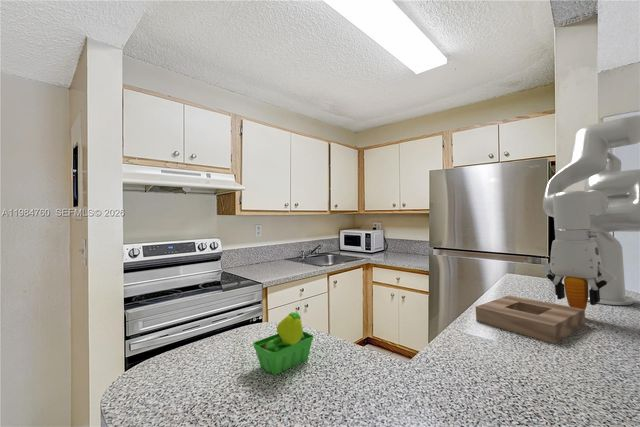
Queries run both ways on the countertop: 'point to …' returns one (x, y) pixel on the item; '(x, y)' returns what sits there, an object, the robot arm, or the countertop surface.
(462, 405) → the countertop surface
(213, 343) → the countertop surface
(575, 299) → the carrot
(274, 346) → the fruit basket
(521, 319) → the socket block
